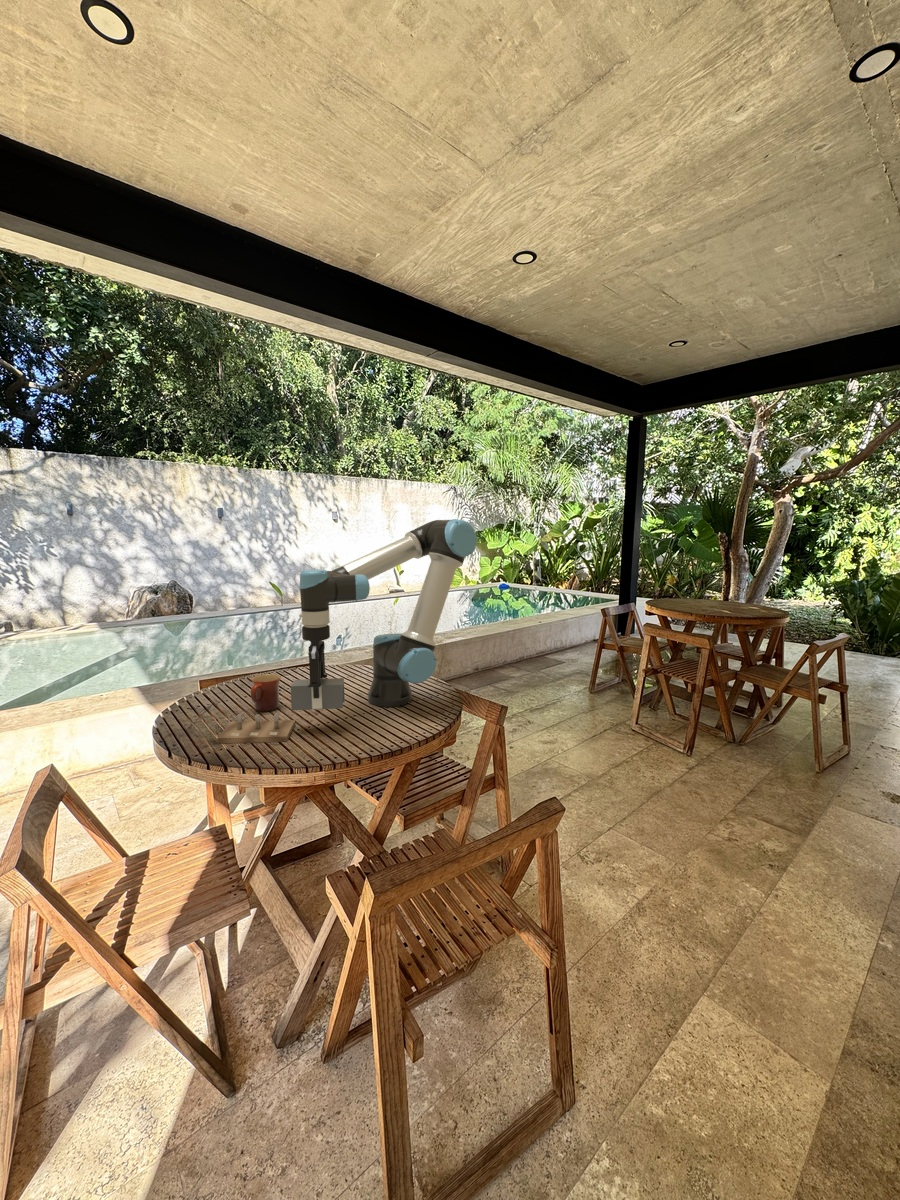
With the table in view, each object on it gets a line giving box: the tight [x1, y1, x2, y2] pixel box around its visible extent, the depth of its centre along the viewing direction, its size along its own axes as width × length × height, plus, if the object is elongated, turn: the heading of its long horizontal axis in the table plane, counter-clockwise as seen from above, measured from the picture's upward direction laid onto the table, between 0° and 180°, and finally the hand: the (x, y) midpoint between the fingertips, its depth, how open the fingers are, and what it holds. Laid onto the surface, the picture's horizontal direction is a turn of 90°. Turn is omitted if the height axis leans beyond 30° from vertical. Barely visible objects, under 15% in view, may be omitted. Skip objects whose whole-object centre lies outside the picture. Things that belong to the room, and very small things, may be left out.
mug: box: [250, 673, 281, 713], centre depth 156 cm, size 12×9×10 cm
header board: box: [216, 713, 296, 745], centre depth 138 cm, size 18×12×6 cm, turn 97°
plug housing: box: [290, 677, 346, 711], centre depth 140 cm, size 14×6×7 cm, turn 97°
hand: (319, 704), depth 140 cm, fingers closed on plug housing, 6 cm apart
